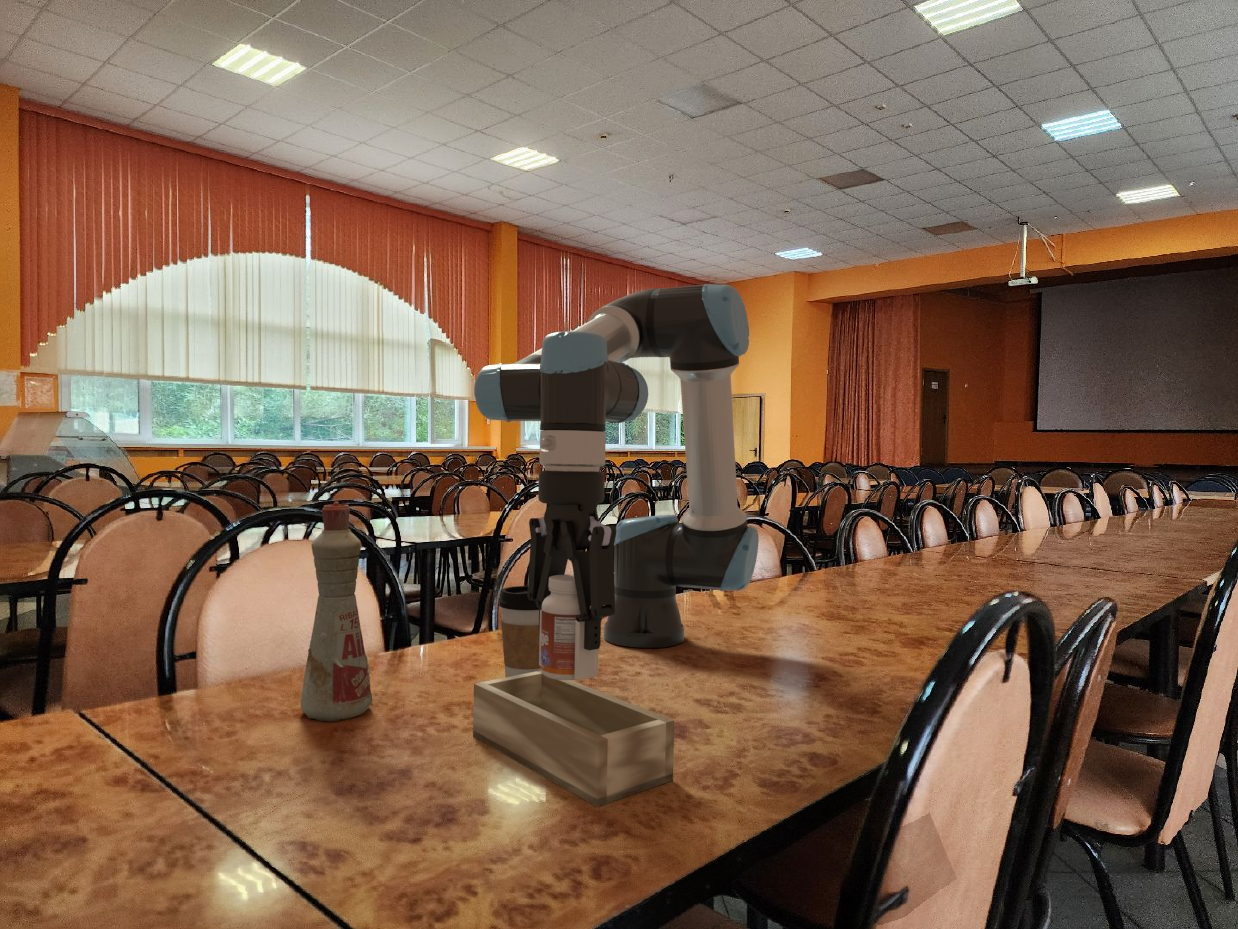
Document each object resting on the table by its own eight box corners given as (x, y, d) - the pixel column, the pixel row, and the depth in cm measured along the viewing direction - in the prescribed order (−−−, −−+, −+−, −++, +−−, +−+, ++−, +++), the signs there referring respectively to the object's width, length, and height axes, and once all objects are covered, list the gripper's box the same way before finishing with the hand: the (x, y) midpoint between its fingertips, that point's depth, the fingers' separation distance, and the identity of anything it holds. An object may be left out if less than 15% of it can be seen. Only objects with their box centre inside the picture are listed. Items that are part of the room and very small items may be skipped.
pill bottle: (543, 666, 95) (545, 572, 94) (595, 667, 95) (597, 573, 94) (537, 681, 88) (539, 581, 88) (593, 682, 88) (595, 582, 88)
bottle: (315, 700, 110) (318, 498, 110) (380, 702, 110) (383, 499, 109) (287, 722, 102) (290, 502, 101) (358, 724, 101) (361, 503, 101)
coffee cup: (545, 699, 113) (547, 593, 113) (488, 694, 115) (490, 590, 114) (561, 682, 121) (563, 584, 121) (508, 678, 123) (510, 581, 123)
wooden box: (543, 719, 104) (544, 669, 104) (672, 780, 86) (674, 720, 86) (472, 736, 98) (473, 683, 98) (597, 807, 79) (598, 741, 79)
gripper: (499, 466, 96) (495, 658, 96) (598, 471, 81) (593, 697, 82) (550, 467, 101) (546, 649, 101) (652, 471, 86) (648, 684, 87)
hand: (567, 670), depth 91 cm, fingers closed on pill bottle, 6 cm apart
